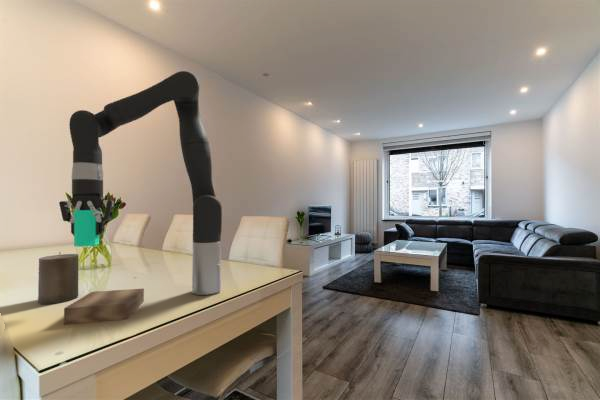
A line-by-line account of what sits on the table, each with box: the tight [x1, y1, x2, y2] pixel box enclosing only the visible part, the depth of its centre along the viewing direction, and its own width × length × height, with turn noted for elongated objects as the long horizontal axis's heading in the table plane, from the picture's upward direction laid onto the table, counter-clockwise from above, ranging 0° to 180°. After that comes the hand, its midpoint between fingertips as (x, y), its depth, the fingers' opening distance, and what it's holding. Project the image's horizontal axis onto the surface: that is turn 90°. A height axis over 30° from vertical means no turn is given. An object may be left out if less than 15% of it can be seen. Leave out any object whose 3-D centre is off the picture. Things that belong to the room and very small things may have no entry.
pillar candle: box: [37, 252, 79, 305], centre depth 88 cm, size 10×10×15 cm
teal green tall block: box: [73, 210, 100, 247], centre depth 83 cm, size 6×6×12 cm
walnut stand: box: [63, 288, 145, 325], centre depth 77 cm, size 14×14×4 cm
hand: (88, 234), depth 83 cm, fingers closed on teal green tall block, 5 cm apart
